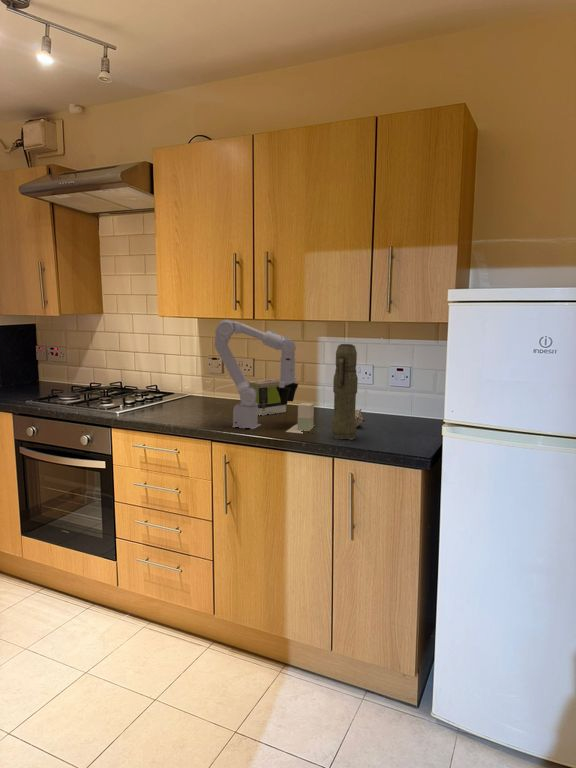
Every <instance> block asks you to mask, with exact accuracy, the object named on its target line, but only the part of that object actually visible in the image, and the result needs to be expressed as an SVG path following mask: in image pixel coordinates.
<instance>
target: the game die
mask: <svg viewBox="0 0 576 768" xmlns="http://www.w3.org/2000/svg"><path fill="white" fill-rule="evenodd" d="M355 419H356V428H358V426H360V425H361V424H362V423H363V422H366V420H364V417H363V415H362V408H361V409H359V410H358V409H355Z"/></svg>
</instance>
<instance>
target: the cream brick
mask: <svg viewBox="0 0 576 768" xmlns="http://www.w3.org/2000/svg"><path fill="white" fill-rule="evenodd" d="M314 407H315V404H314V403H311V402H301V403H298V404H297V419H298V418H312V417H313V418H314V415H315V414H314V410H315V408H314Z"/></svg>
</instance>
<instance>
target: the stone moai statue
mask: <svg viewBox="0 0 576 768" xmlns="http://www.w3.org/2000/svg"><path fill="white" fill-rule="evenodd" d="M356 348H357V347H356V346H355V345H353V344H351V343H341V344H339V345H337V348H336V351H335V371H334V372H335V373H334V375H333V388H332V389H333V394H334V395H333V396H334V397H333V398H334V399H333V404H334V405H333V418H332V421H331V422H332V423H331V432H332V433H331V434H332V435H333V437H336V438H343V439H348V438H354V437H355V438H356V433H357V429H356V428H357V427H356V419H355V410H356V402H357V401H356V399H357V398H356V397H357V393H358V383H359V382H358V380H359V379H358V376H357V359H358V357H357V356H358V355H357V354H358V353H357V352H358V351H357V349H356Z"/></svg>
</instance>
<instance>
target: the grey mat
mask: <svg viewBox="0 0 576 768" xmlns="http://www.w3.org/2000/svg"><path fill="white" fill-rule="evenodd" d="M301 431H303V430H298V423H296V424H294V425H293V426H291V427H290V428H289V429H287V430H286V431H285V433H291V434H292V433H294V434H303V432H301Z"/></svg>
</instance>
